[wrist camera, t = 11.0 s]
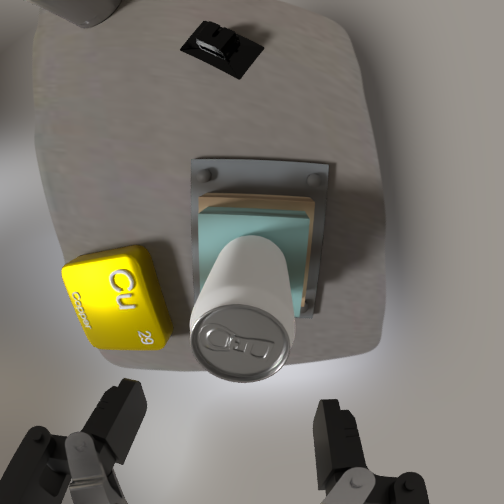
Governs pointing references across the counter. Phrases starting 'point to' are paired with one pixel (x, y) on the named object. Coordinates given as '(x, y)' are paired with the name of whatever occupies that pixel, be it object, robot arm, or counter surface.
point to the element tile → (118, 299)
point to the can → (244, 313)
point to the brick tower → (260, 216)
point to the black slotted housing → (222, 48)
